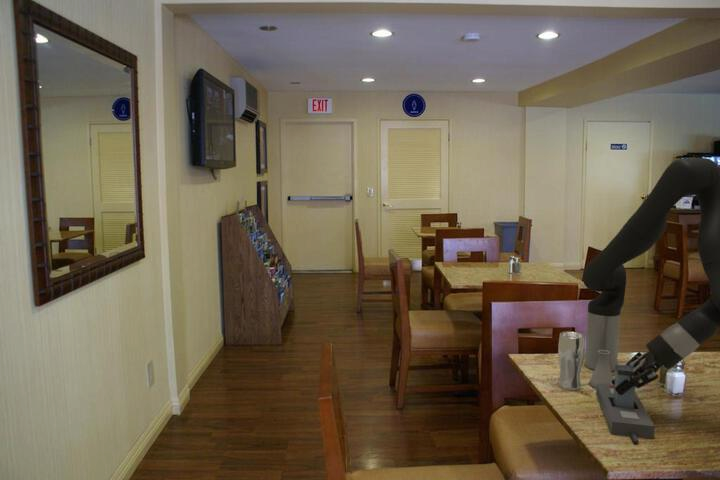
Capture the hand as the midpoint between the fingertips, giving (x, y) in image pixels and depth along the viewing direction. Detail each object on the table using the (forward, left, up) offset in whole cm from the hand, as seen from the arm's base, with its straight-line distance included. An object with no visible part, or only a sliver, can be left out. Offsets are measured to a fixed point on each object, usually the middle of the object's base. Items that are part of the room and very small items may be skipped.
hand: (615, 388), depth 143 cm
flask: (-19, 0, -7) cm, 20 cm away
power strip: (+2, +2, -7) cm, 7 cm away
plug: (0, +2, -5) cm, 5 cm away
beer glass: (-16, -9, -7) cm, 20 cm away
